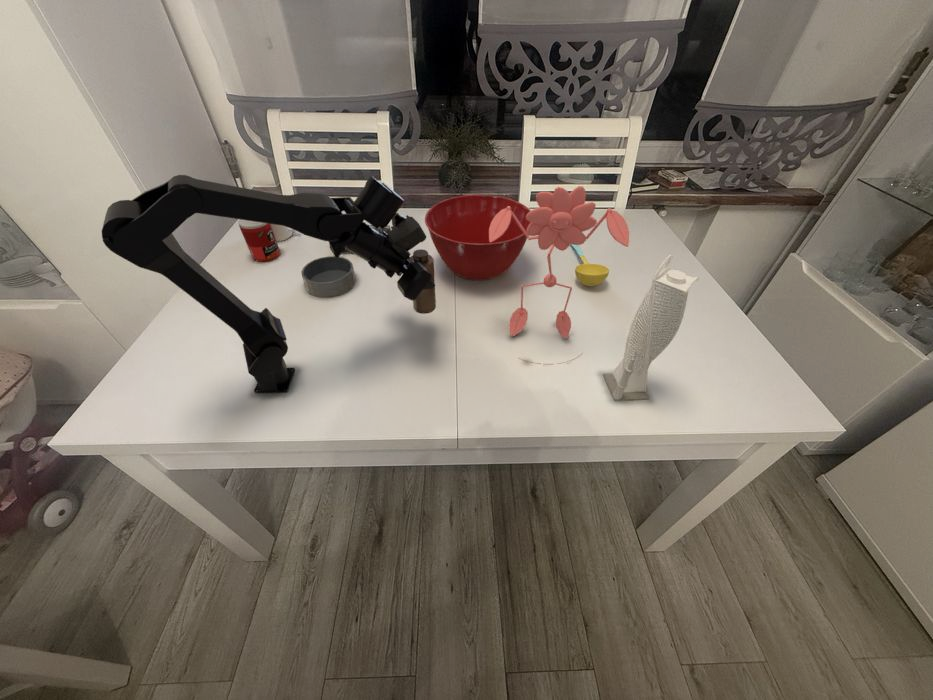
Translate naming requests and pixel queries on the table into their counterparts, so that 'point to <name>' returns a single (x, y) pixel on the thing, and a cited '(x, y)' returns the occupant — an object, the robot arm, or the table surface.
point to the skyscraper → (650, 332)
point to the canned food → (260, 240)
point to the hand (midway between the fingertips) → (428, 280)
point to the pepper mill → (427, 296)
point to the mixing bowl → (476, 235)
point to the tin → (329, 276)
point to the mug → (281, 232)
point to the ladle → (590, 271)
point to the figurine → (557, 237)
